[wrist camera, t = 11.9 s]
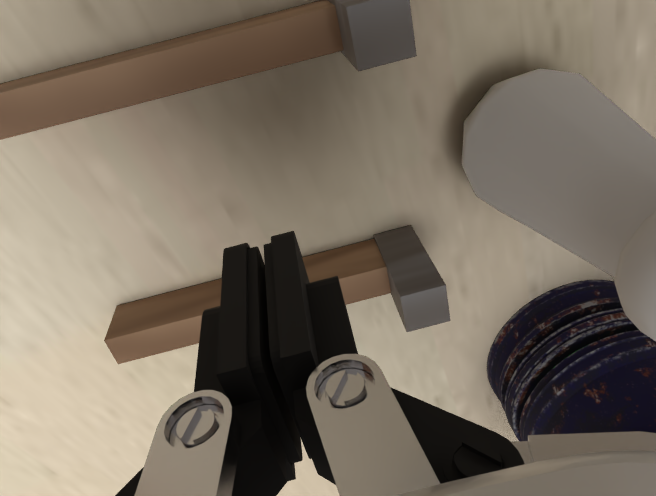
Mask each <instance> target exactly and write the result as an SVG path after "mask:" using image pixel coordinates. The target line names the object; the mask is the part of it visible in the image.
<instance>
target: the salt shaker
mask: <svg viewBox="0 0 656 496" xmlns="http://www.w3.org/2000/svg"><path fill="white" fill-rule="evenodd" d="M462 167H463V169H464V171H465V173H466V176H467V178H468V180H469V182H470V184H471V187H472V189H473V191H474V193H475V195H476V196H477V197H478V198H480V199H482V200H483V201H485V202H486V203H488V204H489V205H491V206H492V207H494V208H495V209H497V210H498V211H500V212H502V213H504V214H506V215H508V216H509V217H511V218H513V219H515V220H517V221H518V222H520V223H522V224H524V225H526V226H528V227H529V228H531V229H533V230H535V231H536V232H538V233H540V234H541V235H543V236H545V237H547V238H548V239H550V240H552V241H553V242H555V243H557V244H558V245H560V246H562V247H563V248H565V249H567V250H569V251H570V252H572V253H574V254H575V255H577V256H579V257H580V258H582V259H584V260H586V261H587V262H589V263H591V264H592V265H594V266H596V267H597V268H599V269H601V270H602V271H604V272H606V273H608V274H609V275H611V276H613V277H614V283H615V286H616V289H617V293H618V296H619V299H620V302H621V305H622V308H623V310H624V312H625V315H626V316H627V317H628V318H629V319H630V320H631V321H632V322H633V324H634V325H635V326H636V327H637V328H638V329H639V330H640V331H641V332H642V333H644V334H645V335H647V336H648V337H650V338H651V339H653V340H654V341H656V139H655V138H654V137H653V136H651V135H650V134H649V133H648V132H647V131H646V130H645V129H643V128H642V127H641V126H640V125H639V124H638V123H636V122H635V121H634V120H633V119H632V118H631V117H629V116H628V115H627V114H626V113H625V112H624V111H623V110H621V109H620V108H619V107H618V106H617V105H616V104H614V103H613V102H612V101H611V100H610V99H609V98H607V97H606V96H605V95H604V94H603V93H602V92H601V91H599V90H598V89H597V88H596V87H595V86H594V85H592V84H591V83H590V82H589V81H588V80H587V79H586V78H584V77H583V76H582V75H581V74H580V73H572V72H565V71H557V70H549V69H540V68H539V69H536V70H533V71H530V72H527V73H524V74H521V75H518V76H515V77H512V78H509V79H506V80H504V81H501V82H499V83H496V84H494V85H492V86H491V87H490V89H489V90H488V91H487V93H486V94H485V95H484V96H483V98H482V99H481V100H480V101H479V103H478V104H477V105H476V107H475V108H474V109H473V110H472V112H471V113H470V114H469V116H468V117H467V118H466V119H465V121H464V135H463V150H462Z"/></svg>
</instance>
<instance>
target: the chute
mask: <svg viewBox="0 0 656 496" xmlns="http://www.w3.org/2000/svg"><path fill="white" fill-rule="evenodd" d="M339 51H341V52H342V53H343V54H344V56H345V57H346V58H347V59H348V60H349V61H350V62H351V64H352V65H353V66H354V67H355V68H356V69H357V70H358V71H362V70H365V69H369V68H373V67H377V66H381V65H385V64H388V63H392V62H396V61H400V60H404V59H408V58H411V57H415V56H417V55H416V47H415V40H414V32H413V24H412V16H411V8H410V0H320V1H316V2H312V3H309V4H305V5H301V6H297V7H293V8H289V9H286V10H282V11H278V12H274V13H270V14H266V15H262V16H259V17H255V18H251V19H247V20H243V21H239V22H236V23H232V24H228V25H224V26H220V27H216V28H213V29H209V30H205V31H201V32H197V33H193V34H190V35H186V36H182V37H178V38H174V39H170V40H167V41H163V42H159V43H155V44H151V45H147V46H144V47H140V48H136V49H132V50H128V51H124V52H120V53H117V54H113V55H109V56H105V57H101V58H97V59H94V60H90V61H86V62H82V63H78V64H74V65H71V66H67V67H63V68H59V69H55V70H51V71H48V72H44V73H40V74H36V75H32V76H28V77H25V78H21V79H17V80H13V81H9V82H5V83H2V84H0V140H1V139H5V138H9V137H13V136H16V135H20V134H24V133H28V132H32V131H36V130H39V129H43V128H47V127H51V126H55V125H59V124H62V123H66V122H70V121H74V120H78V119H82V118H85V117H89V116H93V115H97V114H101V113H105V112H109V111H112V110H116V109H120V108H124V107H128V106H132V105H135V104H139V103H143V102H147V101H151V100H155V99H158V98H162V97H166V96H170V95H174V94H178V93H181V92H185V91H189V90H193V89H197V88H201V87H204V86H208V85H212V84H216V83H220V82H224V81H227V80H231V79H235V78H239V77H243V76H247V75H250V74H254V73H258V72H262V71H266V70H270V69H273V68H277V67H281V66H285V65H289V64H293V63H296V62H300V61H304V60H308V59H312V58H316V57H319V56H323V55H327V54H331V53H335V52H339ZM302 259H303V262H304V265H305V269H306V272H307V275H308V279H309V282H310V283H311V282H315V281H319V280H323V279H327V278H331V277H334V276H338V279H339V282H340V286H341V290H342V294H343V298H344V302H345V305H346V304H350V303H354V302H358V301H362V300H365V299H369V298H373V297H377V296H381V295H385V294H388V293H391V295H392V297H393V300H394V302H395V305H396V307H397V309H398V312H399V314H400V317H401V319H402V322H403V324H404V327H405V329H406V331H407V332H409V331H413V330H417V329H421V328H425V327H429V326H432V325H436V324H440V323H444V322H448V321H450V314H449V306H448V299H447V291H446V285H445V283H444V281H443V279H442V278H441V276H440V274H439V273H438V271H437V269H436V267H435V266H434V264H433V262H432V261H431V259H430V257H429V255H428V254H427V252H426V250H425V248H424V247H423V245H422V243H421V242H420V240H419V238H418V236H417V235H416V233H415V231H414V230H413V228H412V226H411V225H410V226H406V227H402V228H398V229H395V230H391V231H387V232H383V233H379V234H375V235H374V239H371V240H367V241H363V242H359V243H356V244H352V245H348V246H344V247H340V248H336V249H333V250H329V251H325V252H321V253H317V254H313V255H310V256H306V257H302ZM221 285H222V279H218V280H214V281H210V282H206V283H202V284H199V285H195V286H191V287H187V288H183V289H179V290H176V291H172V292H168V293H164V294H160V295H156V296H153V297H149V298H145V299H141V300H137V301H133V302H130V303H126V304H122V305H118V306H117V307H116V310H115V312H114V315H113V318H112V321H111V323H110V326H109V329H108V332H107V334H106V337H105V340H104V341H105V343H106V344H107V346H108V348H109V349H110V351H111V353H112V355H113V356H114V358H115V360H116V361H117V363H118V364H121V363H124V362H128V361H132V360H136V359H140V358H144V357H147V356H151V355H155V354H159V353H163V352H166V351H170V350H174V349H178V348H182V347H186V346H189V345H193V344H197V343H199V340H200V330H201V321H202V314H203V311H204V310H206V309H210V308H214V307H218V306H220V301H221Z"/></svg>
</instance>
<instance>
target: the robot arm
mask: <svg viewBox="0 0 656 496" xmlns="http://www.w3.org/2000/svg"><path fill="white" fill-rule="evenodd" d="M264 259H265V265H264V262H263V259H262V256H261V253H260V251H259V248H258V247H253V248H250V247H249V245H248V243H244V244H240V245H237V246H233V247H229V248H225V249H224V253H223V269H222V285H221V301H220V306H218V307H214V308H210V309H206V310H204V311H203V314H202V321H201V330H200V340H199V349H198V359H197V368H196V378H195V387H194V392H193V393H190V394H188V395H186V396H184V397H182V398H180V399H179V400H178V401H177V402H175V403H174V404H173V405H171V406H170V407H169V409H168V410H167V411H166V412H165V413H164V415H163V416H162V418H161V420H160V422H159V424H158V426H157V429H156V432H155V435H154V438H153V441H152V444H151V447H150V450H149V453H148V456H147V459H146V462H145V465H144V467H143V468H142V469H141V470H140V471H139V472H138V473H137V474H136V475H135V476H134V477H133V478H132V479H131V480H130V481H129V482H128V483H127V484H126V485H125V486H124V487H123V488H122V489H121V490H120V491H119V492H118V493H117V494H116V495H115V496H276V495H277V494H278V493H279V492H280V490H281V489H282V488H283V486H284V485H285V484H286V483H287V481H290V480H294V479H296V478H295V466H294V463H295V462H299V461H302V448H301V439H302V442H303V445H304V447H305V450H306V452H307V455H308V457H309V458H310V459H311V458H312V460H313V463H314V465H315V468H316V470H317V473H318V474H319V475H320V476H322V477H324V478H325V479H327V480H329V481H330V482H332V483H334V484H335V485H336V486H337V489H338V492H339V495H340V496H656V433H650V432H642V431H634V432H605V433H577V434H549V435H528V441H516V442H510V441H509V440H508V439H506V438H504V437H503V436H501V435H499V434H498V433H496V432H494V431H491V430H489V429H487V428H484V427H482V426H480V425H477V424H475V423H473V422H470V421H468V420H466V419H463V418H461V417H459V416H456V415H454V414H452V413H449V412H447V411H445V410H442V409H440V408H438V407H435V406H433V405H431V404H428V403H426V402H424V401H421V400H419V399H417V398H414V397H412V396H410V395H407V394H405V393H403V392H400V391H398V390H395V389H393V388H391V387H390V386H389V384H388V382H387V380H386V378H385V376H384V374H383V372H382V371H381V369H380V368H379V366H378V365H377V364H376V363H375V361H373V360H371V359H370V358H368V357H366V356H363V355H359V354H358V353H357V349H356V345H355V341H354V337H353V333H352V329H351V325H350V321H349V317H348V313H347V309H346V305H345V302H344V298H343V294H342V290H341V286H340V282H339V279H338V276H334V277H331V278H327V279H323V280H319V281H315V282H311V283H310V282H309V279H308V275H307V272H306V269H305V265H304V262H303V259H302V256H301V252H300V249H299V246H298V242H297V239H296V236H295V233H294V231H291V232H287V233H283V234H279V235H275V236H272V237H271V243H269V244H265V245H264ZM300 437H301V438H300Z"/></svg>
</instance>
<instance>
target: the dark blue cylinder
mask: <svg viewBox="0 0 656 496" xmlns="http://www.w3.org/2000/svg"><path fill="white" fill-rule="evenodd" d="M487 374H488V379H489V382H490V385H491V387H492V389H493V391H494V393H495V394H496V396H497V397H498V399H499V400H500V401H501V404H502V407H503V409H504V411H505V414H506V416H507V419H508V422H509V424H510V426H511V428H512V430H513V431H514V433H515V435H516V437H517V438H518V440H519V441H528V435H549V434H577V433H605V432H634V431H642V432H650V433H656V341H654V340H653V339H651V338H650V337H648V336H647V335H645V334H644V333H642V332H641V331H640V330H639V329H638V328H637V327H636V326H635V325H634V324H633V322H632V321H631V320H630V319H629V318H628V317H627V316H626V315H625V312H624V310H623V308H622V305H621V302H620V299H619V296H618V293H617V289H616V286H615V283H614V282H613V281H606V280H587V281H580V282H574V283H571V284H567V285H564V286H560V287H558V288H556V289H553V290H551V291H548V292H546V293H544V294H543V295H541V296H539V297H537V298H535V299H534V300H532V301H531V302H529V303H528V304H527V305H525V306H524V307H522V308H521V309H520V310H519V311H518V312H517V313H516V314H514V315H513V316H512V317H511V318H510V320H509V321H508V322H507V323H506V324H505V325H504V326H503V328H502V329H501V331H500V332H499V334H498V335H497V337H496V338H495V340H494V342H493V345H492V347H491V349H490V353H489V356H488V362H487Z"/></svg>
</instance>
